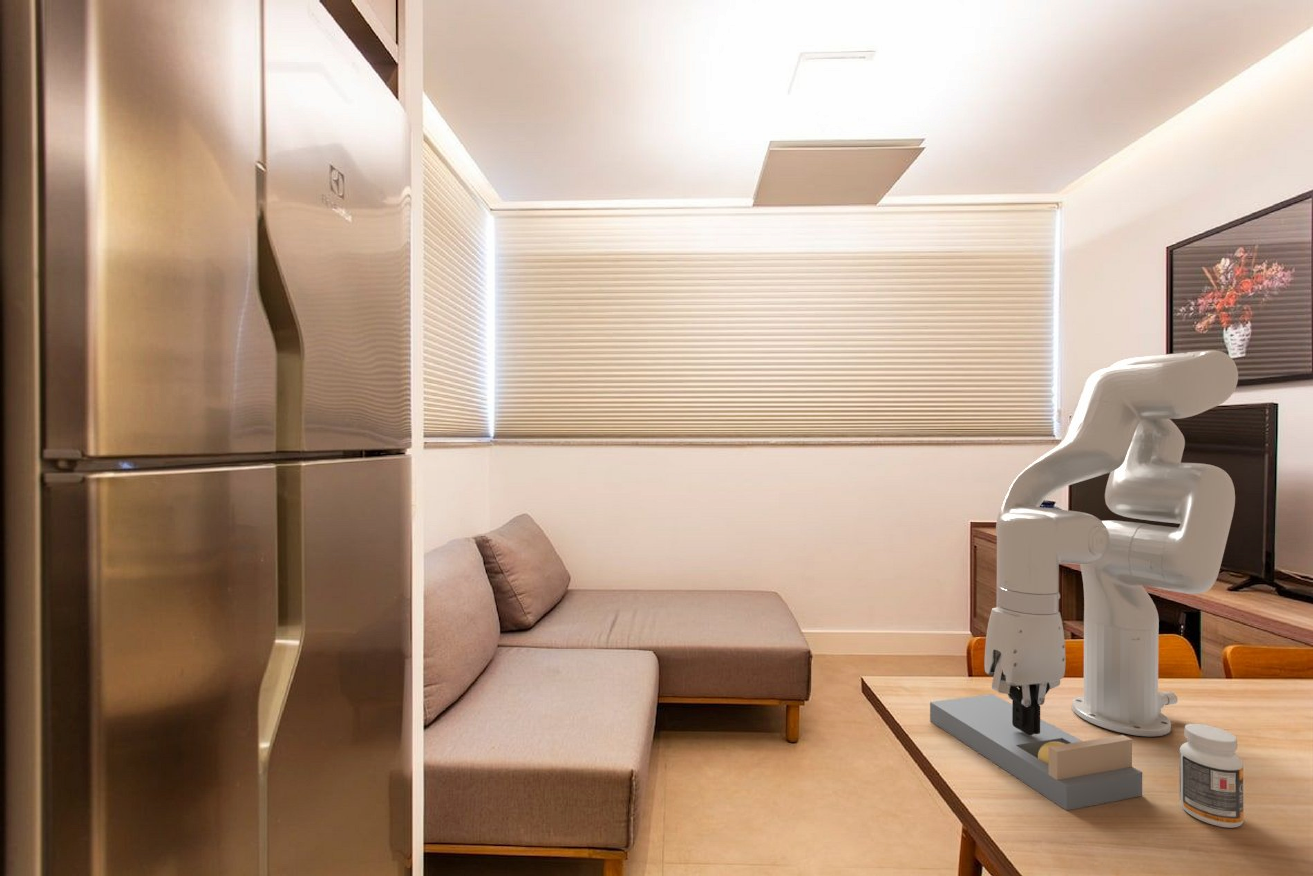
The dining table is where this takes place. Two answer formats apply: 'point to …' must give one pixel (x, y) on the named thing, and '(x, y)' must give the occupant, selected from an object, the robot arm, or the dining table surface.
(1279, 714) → the dining table surface
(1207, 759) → the pill bottle
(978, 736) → the board
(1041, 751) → the ball
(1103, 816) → the dining table surface
